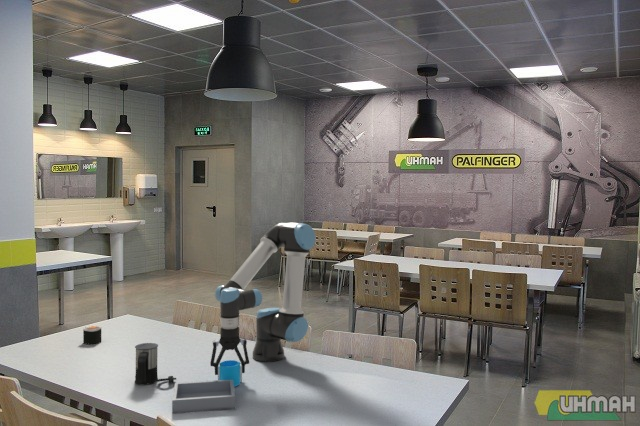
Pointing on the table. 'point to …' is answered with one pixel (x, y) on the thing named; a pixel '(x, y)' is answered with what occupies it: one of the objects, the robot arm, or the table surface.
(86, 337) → the sushi
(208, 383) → the box
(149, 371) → the milk frother
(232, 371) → the mug
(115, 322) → the table surface
